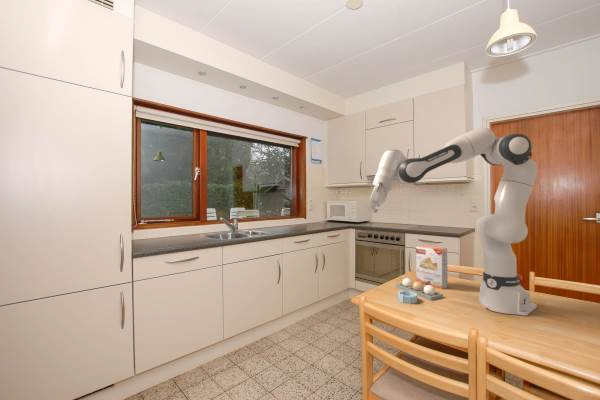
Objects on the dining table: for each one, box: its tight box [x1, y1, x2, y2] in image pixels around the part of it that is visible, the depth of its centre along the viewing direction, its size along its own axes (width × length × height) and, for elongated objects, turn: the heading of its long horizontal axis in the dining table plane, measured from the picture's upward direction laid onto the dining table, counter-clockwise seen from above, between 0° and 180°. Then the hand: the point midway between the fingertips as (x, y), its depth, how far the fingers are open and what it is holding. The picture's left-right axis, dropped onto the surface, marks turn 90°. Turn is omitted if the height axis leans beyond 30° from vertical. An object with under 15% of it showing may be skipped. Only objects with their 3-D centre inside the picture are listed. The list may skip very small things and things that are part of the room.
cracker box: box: [415, 244, 448, 290], centre depth 142 cm, size 14×6×21 cm, turn 36°
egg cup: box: [397, 289, 418, 305], centre depth 122 cm, size 8×8×4 cm
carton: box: [395, 282, 444, 301], centre depth 132 cm, size 8×21×2 cm, turn 25°
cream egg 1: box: [401, 277, 414, 288], centre depth 138 cm, size 5×5×5 cm
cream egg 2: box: [424, 285, 436, 296], centre depth 126 cm, size 5×5×5 cm
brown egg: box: [412, 280, 425, 292], centre depth 132 cm, size 5×5×5 cm
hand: (373, 212), depth 126 cm, fingers open, 8 cm apart
